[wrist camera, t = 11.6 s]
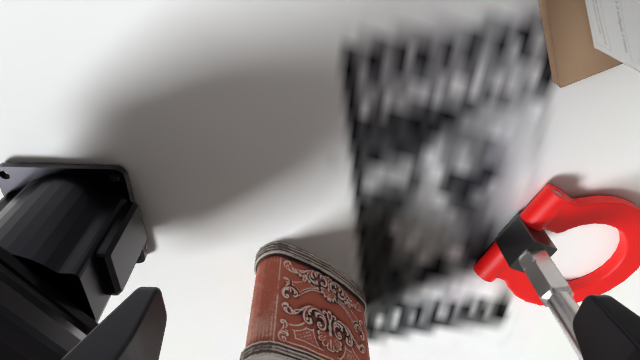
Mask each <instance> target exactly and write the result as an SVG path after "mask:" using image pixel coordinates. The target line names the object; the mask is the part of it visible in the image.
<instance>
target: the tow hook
mask: <svg viewBox="0 0 640 360" xmlns="http://www.w3.org/2000/svg"><path fill="white" fill-rule="evenodd" d="M593 223H596V224H607V225H610V226H613V227H616V228H617V229H618V231H619V233H620V242H619V244H618V247H617V250H616V251H615V253H614V254H613V256H612V257H611V258H610V259H609V260H608V261H607V262H606V263H605V264H604V265H603V266H601V267H600V268H598V269H597V270H595V271H594V272H592V273H590V274H588V275H586V276H583V277H581V278H578V279H575V280H571V281H566V280H565V279H564V277H563V276H562V274H561V273H560V271H559V270H558V268H557V267H556V265H555V264H554V262H553V261H552V259H551V258H550V257H551V256H552V255H553V254H554V253H555V252H556V251H557V248H556V247H555V245H554V244H553V242H552V241H551V240H550V238H549V237H548V235H547V234H546V233H545V231H544V230H543V229H547V230H550V231H552V232H555V233H560V232H564V231H566V230H568V229H571V228H574V227H577V226H580V225H586V224H593ZM639 266H640V209H639V208H638V207H637V206H635V205H634V204H633V203H632V202H630V201H627V200H625V199H622V198H619V197H616V196H603V195H595V196H588V197H581V198H575V199H573V198H571V197H568V196H567V195H566V194H565V193H564V192H563V191H562V190H560V189H559V188H557V187H555V186H553V185H551V184H547V185H546V186H545V187H544V188H543V189H542V190H541V191H540V192H539V194H538V195H537V196H536V197H535V198H534V199H533V200H532V201H531V202H530V204H529V205H528V206H527V207H526V208H525V209H524V210H523V211H522V212H521V213H519V214H517V215H516V216H515V217H514V218H513V219H512V221H511V222H510V223H509V224H508V225H507V226H506V227H505V228H504V229H503V231H502V232H501V233H500V234H499V235H498V236H497V237H496V241H495V242H494V243H493V245H492V246H491V247H490V248H489V249H488V250H487V251H486V252H485V253H484V255H483V256H482V257H481V258H480V259H479V260H478V261H477V262H476V263H475V264H474V270H475V272H476V273H477V275H478V276H479V277H481V278H482V279H483V280H485V281H488V282H492V281H494V280H495V279H496V278H500V279H503V280H505V282H506V284H507V286H508V287H509V288H510V290H511V291H512V292H513V293H514V294H515V295H516V296H517V297H519V298H521V299H522V300H524V301H526V302H530V303H534V304H537V305H544V306H546V307H549V309H550V310H551V312H552V314H553V315H554V317H555V319H556V321H557V322H558V324H559V326H560V327H561V329H562V331H563V332H564V334H565V336H566V337H567V339H568V341H569V342H570V344H571V346H572V348H573V349H574V351H575V353H576V354H577V356H578V358H579V359H580V360H583V358H582V355H581V352H580V349H579V346H578V343H577V340H576V337H575V334H574V331H573V319H574V317H575V315H576V313H577V311H578V309H579V306H578V304H577V303H578V302H581V301H583V300H584V298H585V297H586V296H588V295H600V294H603V293H605V292H607V291H609V290H611V289H612V288H614V287H615V286H617V285H619V284H620V283H622V282H623V281H625V280H626V279H627V278H628V277H629V276H630V275H631V274H633V273H634V272H635V271H636V270H637V269H638V268H639Z"/></svg>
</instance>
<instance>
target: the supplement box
mask: <svg viewBox="0 0 640 360" xmlns="http://www.w3.org/2000/svg"><path fill="white" fill-rule="evenodd" d="M585 3H586V8H587V13H588V18H589V23H590V28H591V33H592V38H593V44H594V48H595V49H598V50H600V51H602V52H604V53H606V54H607V55H609V56H611V57H613V58H615V59H617V60H618V61H620V62H622V63H624V64H626V65H627V66H629V67H631V68H633V69H635V70H637V71H638V72H640V0H585Z"/></svg>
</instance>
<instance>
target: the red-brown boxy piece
mask: <svg viewBox="0 0 640 360" xmlns="http://www.w3.org/2000/svg"><path fill="white" fill-rule="evenodd" d="M254 271H255V274H256V280H255V286H254V293H253V300H252V306H251V313H250V320H249V326H248V333H247V340H246V346H245V349H244V350H243V351H242V352H241V356H240V360H370V357H369V349H368V340H367V332H366V323H365V315H364V313H365V311H366V298H365V293H364V292H363V290H362V289H361V288H360V287H359V286H358V285H356V284H355V283H354V282H353V281H352V280H351V279H350V278H349V277H348V276H346V275H345V274H344V273H342V272H341V271H339V270H338V269H337V268H335V267H334V266H332V265H331V264H329V263H327V262H326V261H324V260H322V259H320V258H318V257H316V256H314V255H313V254H311V253H309V252H306V251H304V250H302V249H299V248H297V247H294V246H292V245H289V244H287V243H283V242H272V243H269V244H266V245H264V246H263V247H261V248H260V249H259V251H258V252H257V255H256V259H255V266H254Z"/></svg>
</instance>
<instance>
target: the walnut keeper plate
mask: <svg viewBox="0 0 640 360" xmlns="http://www.w3.org/2000/svg"><path fill="white" fill-rule="evenodd" d="M539 6H540V11H541V17H542V23H543V29H544V34H545V40H546V46H547V51H548V57H549V63H550V68H551V74H552V80H553V82H554V83H555V84H557V85H558V86H559V87H560V88H562V87H564V86H567V85H569V84H572V83H575V82H577V81H580V80H582V79H585V78H587V77H590V76H592V75H595V74H597V73H600V72H603V71H605V70H608V69H610V68H613V67H615V66H618V65H620V64H623V63H622V62H620V61H618V60H617V59H615V58H613V57H611V56H609V55H607V54H606V53H604V52H602V51H600V50H598V49H595V48H594V44H593V38H592V33H591V28H590V23H589V18H588V13H587V8H586V3H585V0H539Z"/></svg>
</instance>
